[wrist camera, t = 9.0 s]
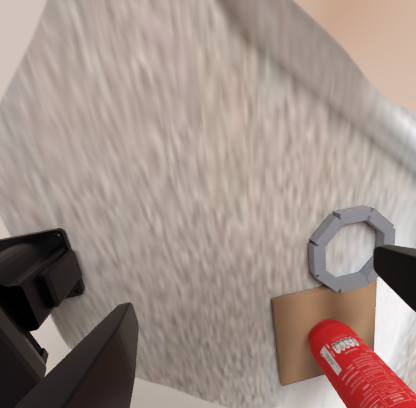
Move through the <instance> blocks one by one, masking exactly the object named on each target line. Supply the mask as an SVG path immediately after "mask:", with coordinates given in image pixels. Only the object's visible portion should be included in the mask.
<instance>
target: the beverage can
mask: <svg viewBox="0 0 416 408" xmlns="http://www.w3.org/2000/svg"><path fill="white" fill-rule="evenodd" d="M308 342H309V344H310V350H311V353H312V355H313V357H314V358H315V360H316V361H317V363H318V364H319V366H320V367H321V369H322V370H323V372H324V374H325V375H326V377H327V378H328V380H329V381H330V383H331V384H332V386H333V387H334V389H335V390H336V392H337V393H338V395H339V396H340V398H341V399H342V401H343V402H344V404H345V405H346V407H347V408H416V394H415V393H414V392H413V391H412V390H411V389H410V388H409V387H408V386H407V385H406V384H405V383H404V382H403V381H402V380H401V379H400V378H399V377H398V376H397V375H396V374H395V373H394V372H393V371H392V370H391V369H390V368H389V367H388V366H387V365H386V364H385V362H384V361H383V360H382V359H381V358H380V357H379V356H378V355H377V354H376V353H375V352H374V351H373V350H372V349H371V348H370V347H369V346H368V345H367V344H366V343H365V342H364V341H363V340H362V339H361V338H360V337H359V336H358V335H357V334H356V333H355V332H354V331H353V330H352V329H351V328H350V327H349V326H348V325H346V324H344V323H341V322H339V321H338V320H336V319H324V320H322V321H320V322H318V323H317V324H315V325H314V326H313V327H312V329H311V330H310V332H309V335H308Z"/></svg>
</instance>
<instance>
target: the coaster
mask: <svg viewBox="0 0 416 408" xmlns="http://www.w3.org/2000/svg"><path fill="white" fill-rule="evenodd" d="M376 284H377V279H376V280H375V281H374V282H373V283H372V284H371V283H370V282H368V286H367V287H363V288H359V289H355V290H351V291H346V292H342V293H340V292H339V291H338V292H336V291H335V290H333V289H332V288H330V287H329V286H327V285H326V286H322V287H318V288H313V289H309V290H305V291H301V292H297V293H293V294H288V295H284V296H280V297H276V298H272V309H273V318H274V328H275V338H276V348H277V358H278V367H279V377H280V382H281V385H282V386H285V385H288V384H292V383H295V382H299V381H303V380H306V379H310V378H313V377H317V376H320V375H324V372H323V370H322V369H321V367H320V366H319V364H318V363H317V361H316V360H315V358H314V357H313V355H312V353H311V350H310V344H309V342H308V335H309V332H310V330H311V329H312V327H313V326H314V325H315V324H317V323H318V322H320V321H322V320H324V319H336V320H338V321H339V322H341V323H344V324H346V325H348V326H349V327H350V328H351V329H352V330H353V331H354V332H355V333H356V334H357V335H358V336H359V337H360V338H361V339H362V340H363V341H364V342H365V343H366V344H367V345H368V346H369V347H370V348H371V349H372V350H373V351H374V331H375V307H376Z"/></svg>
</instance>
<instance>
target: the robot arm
mask: <svg viewBox="0 0 416 408" xmlns="http://www.w3.org/2000/svg"><path fill="white" fill-rule="evenodd" d="M56 233H59V234H60V236H57V235H56ZM373 268H374V271H375V272H376V273H377V275H378V276H379V277H380V278H381V279H382V280H383V281H384V282H385V283H386V284H387V285H388V286H389V287H390V288H391V289H392V290H393V291H394V292H395V293H396V294H397V295H398V296H399V297H400V298H401V299H402V300H403V301H404V302H405V303H407V304H408V305H409V306H410V307H411V308H412V309H413V310H414V311H415V312H416V249H414V248H407V247H401V246H394V245H387V244H386V245H381V246H377V247H375V248H374V253H373ZM81 276H82V273H81V270H80V268H79V265H78V262H77V259H76V256H75V253H74V251H73V250H71V247H70V244H69V242H68V239H67V236H66V233H65V231H64V230H63V229H60V228H56V229H51V230H46V231H41V232H35V233H30V234H25V235H20V236H15V237H9V238H4V239H0V408H130V402H131V397H132V391H133V385H134V379H135V368H136V355H137V342H138V321H137V317H136V314H135V311H134V307H133V305H132V303H130V302H129V303H124V304H120V305H118V306H117V307H116V308H115V309H114V310H113V311H112V312H111V313H110V314H109V315H108V316H107V317H106V318H105V319H104V320H102V321H101V322H100V323H99V324H98V325H97V326H96V327H95V328H94V329H93V330H92V331H91V332H90V333H89V334H88V335H87V336H86V337H85V338H84V339H83V340H82V341H81V342H80V343H79V344H78V345H77V346H76V347H75V348H74V349H73V350H72V351H71V352H70V353H69V354H68V355H67V356H66V357H65V358H64V359H63V360H62V361H61V362H59V363H58V364H57V366H56V367H55V368H53V370H51V371H50V372H49V373H48V374H47V375H46V376H45V372H46V362H47V358H48V353H47V351H46V350H45V349H44V348H41V347H40V345H39V344H38V343H37V341H36V340H35V339H34V338H33V336H32V335H31V333H30V331H34V330H37V329H38V328H39V327H40V326H41V325H42V323H43V322H44V320H45V319H46V318H47V317H48V316H49V314H50V313H51V312H52V310H53V309H54V308H55V307H58V306H59V305H60V304H61V303H62V301H63V300H64V299H65V298H70V297H74V296H79V295H81V294H82V293H83V292H84V290H85V287H84V284H83V281H82V278H81ZM76 288H78V289H80V291H78V290H77V289H76ZM44 376H45V377H44Z"/></svg>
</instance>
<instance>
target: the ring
mask: <svg viewBox="0 0 416 408" xmlns="http://www.w3.org/2000/svg"><path fill="white" fill-rule="evenodd" d="M360 221H366V222H367V223H368V224H369V225H371V226H372V227H373V228H374V229H375V230H376V247H377V246H381V245H386V244H387V245H394V243H395V229H394V228H392V227H393V226H394V225H393V224H392V223H391V222H389V221H388V220H387V219H386V218H385V217H384V216H382V215H381V214H380V213H379V212H378V211H377V210H375V209H374V208H371V207H367V206H363V205H362V206H357V207H352V208H348V209H343V210H338V211H333V215H331V214H329V215H328V217H327V218H326V219H325V220H324V221H323V223H322V224H321V225H320V226H319V228H318V229H317V230H316V231H315V233H314V234H313V235H312V236H311V238H310V240H312V241H313V242H310V243H308V252H309V270H310V271H311V272H312V273H311V274H312V275H313V276H314V277H316V278H317V279H318V280H320V281H321V282H323V283H324V284H326V285H327V286H329V287H330V288H332V289H333V290H335V291H336V292H338V291H339V292H340V293H342V292H346V291H351V290H355V289H359V288H363V287H367V286H368V282H370V283H371V284H372V283H373V282H374V281H375V280H376V279H377V277H378V275H377V273H376V272H375V271H374V268H373V256H372V258H371V259H370V260H369V261H368V262H367V263H366V265H365V266H364V267H363V268H362V269H361V270H360V272H358V273H353V274H349V275H345V276H341V277H337V278H336V277H335V276H334V275H332V274H331V273H329V272H328V271H326V261H325V246H326V245H327V244H328V243H329V242H330V240H331V239H332V238H333V237H334V235H335V234H336V233H337V232H338V231H339V229H340V228H341V227H342V226H343V225H346V224H351V223H355V222H360Z"/></svg>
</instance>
